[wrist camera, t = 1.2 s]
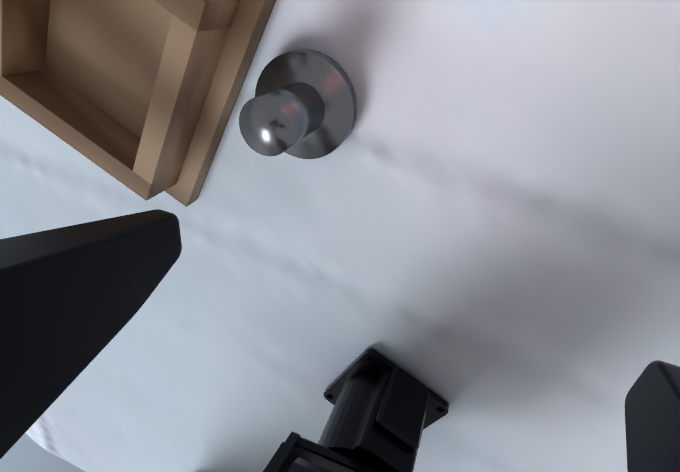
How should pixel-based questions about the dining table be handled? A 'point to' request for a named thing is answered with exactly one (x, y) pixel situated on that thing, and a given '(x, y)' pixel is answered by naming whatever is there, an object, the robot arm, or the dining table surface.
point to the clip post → (299, 107)
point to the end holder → (132, 80)
